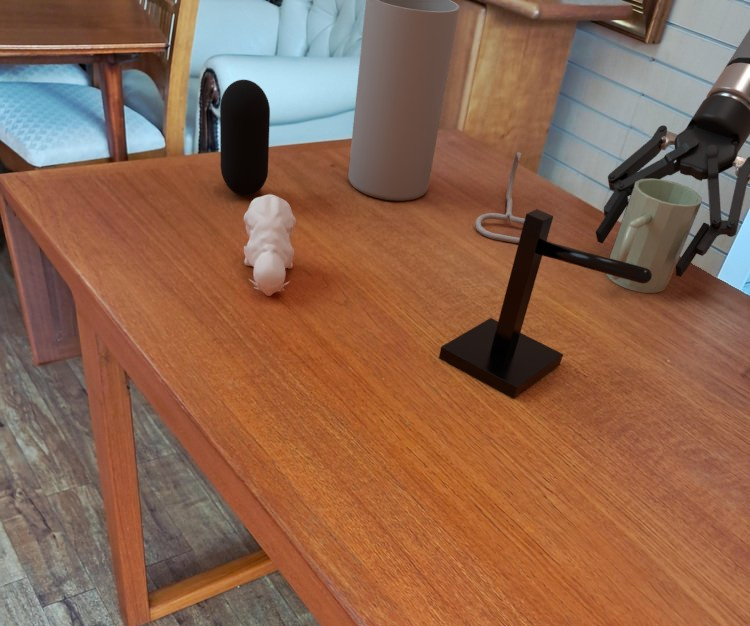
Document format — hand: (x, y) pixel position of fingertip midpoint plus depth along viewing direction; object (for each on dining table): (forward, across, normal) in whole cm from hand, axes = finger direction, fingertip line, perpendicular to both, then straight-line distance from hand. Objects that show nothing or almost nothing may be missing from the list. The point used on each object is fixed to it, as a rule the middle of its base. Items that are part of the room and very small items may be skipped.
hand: (637, 254), depth 105 cm
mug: (+3, 0, -3) cm, 4 cm away
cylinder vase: (+5, +40, -1) cm, 41 cm away
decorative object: (+20, +50, +14) cm, 56 cm away
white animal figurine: (+30, +30, +24) cm, 49 cm away
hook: (0, +23, -6) cm, 24 cm away
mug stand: (+25, -3, +19) cm, 32 cm away
